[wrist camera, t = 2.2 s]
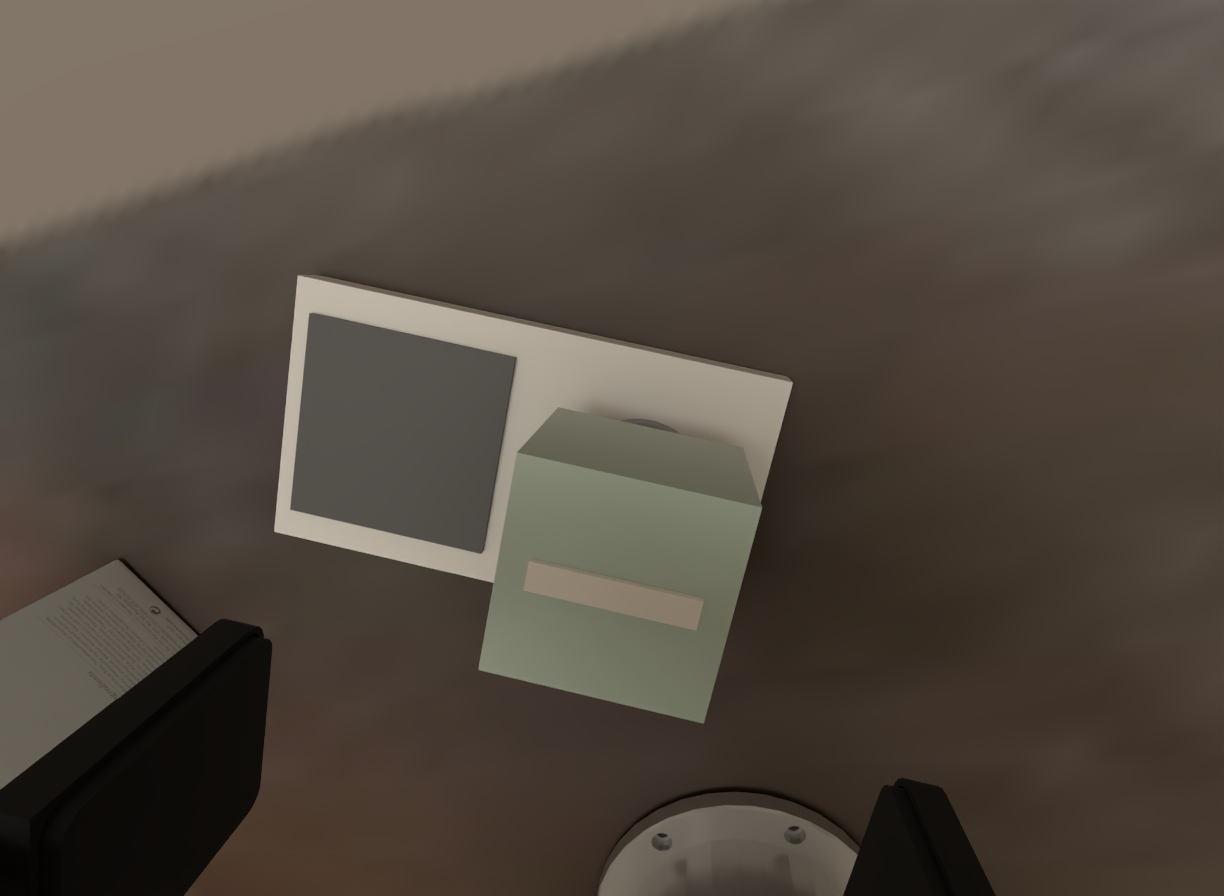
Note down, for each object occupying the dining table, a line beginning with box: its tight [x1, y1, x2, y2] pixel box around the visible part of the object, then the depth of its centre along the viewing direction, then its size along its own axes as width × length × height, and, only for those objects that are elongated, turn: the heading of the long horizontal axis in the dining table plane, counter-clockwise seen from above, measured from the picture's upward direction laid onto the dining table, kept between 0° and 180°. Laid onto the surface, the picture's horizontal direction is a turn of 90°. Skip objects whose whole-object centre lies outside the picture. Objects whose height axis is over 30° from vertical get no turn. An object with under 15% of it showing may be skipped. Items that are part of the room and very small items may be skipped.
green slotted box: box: [478, 407, 762, 724], centre depth 21 cm, size 6×6×6 cm
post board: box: [274, 275, 793, 583], centre depth 24 cm, size 18×10×10 cm, turn 78°
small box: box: [0, 560, 198, 789], centre depth 28 cm, size 8×6×10 cm
